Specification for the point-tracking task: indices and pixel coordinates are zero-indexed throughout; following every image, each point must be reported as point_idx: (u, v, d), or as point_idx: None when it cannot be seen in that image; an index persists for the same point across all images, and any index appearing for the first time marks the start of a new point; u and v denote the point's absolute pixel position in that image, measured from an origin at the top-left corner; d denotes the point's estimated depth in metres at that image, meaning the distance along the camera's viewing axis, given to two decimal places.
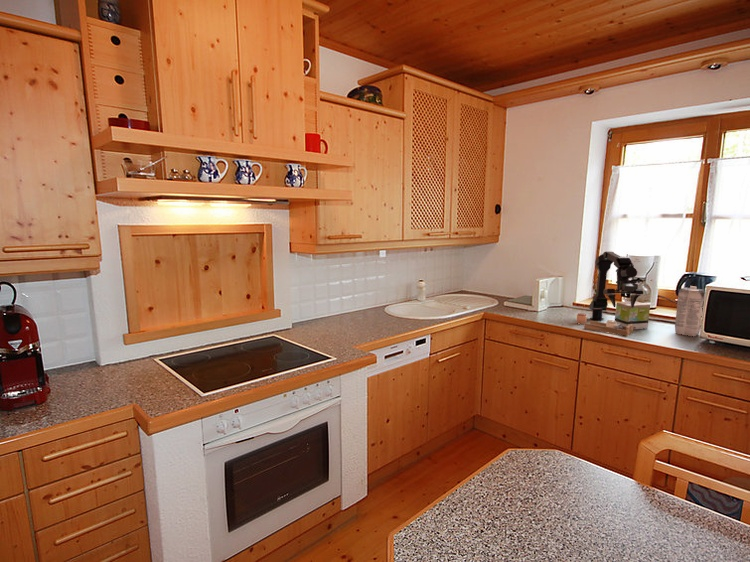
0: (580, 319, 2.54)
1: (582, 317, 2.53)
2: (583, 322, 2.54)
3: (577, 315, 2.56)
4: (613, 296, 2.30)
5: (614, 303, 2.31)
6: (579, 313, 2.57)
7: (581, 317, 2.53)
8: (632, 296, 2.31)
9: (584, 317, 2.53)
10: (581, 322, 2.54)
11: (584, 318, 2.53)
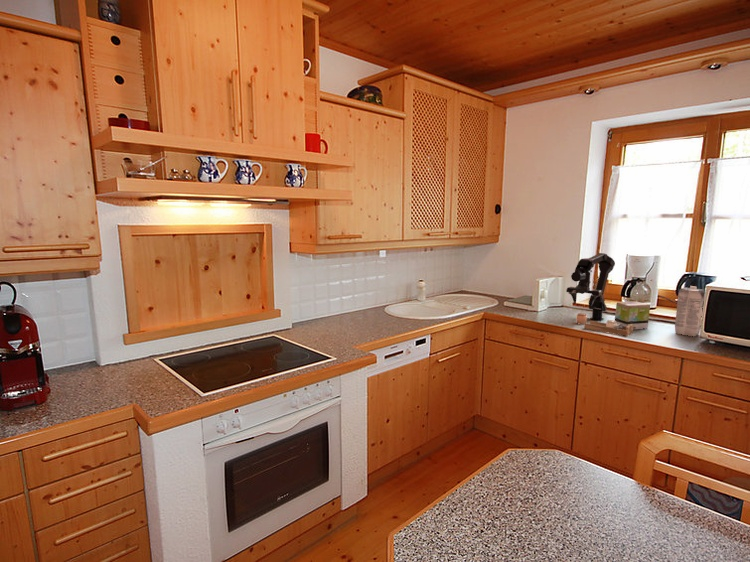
0: (580, 319, 2.54)
1: (582, 317, 2.53)
2: (583, 322, 2.54)
3: (577, 315, 2.55)
4: (572, 294, 2.56)
5: (574, 300, 2.57)
6: (579, 313, 2.57)
7: (581, 317, 2.53)
8: None
9: (584, 317, 2.53)
10: (581, 322, 2.54)
11: (584, 318, 2.53)
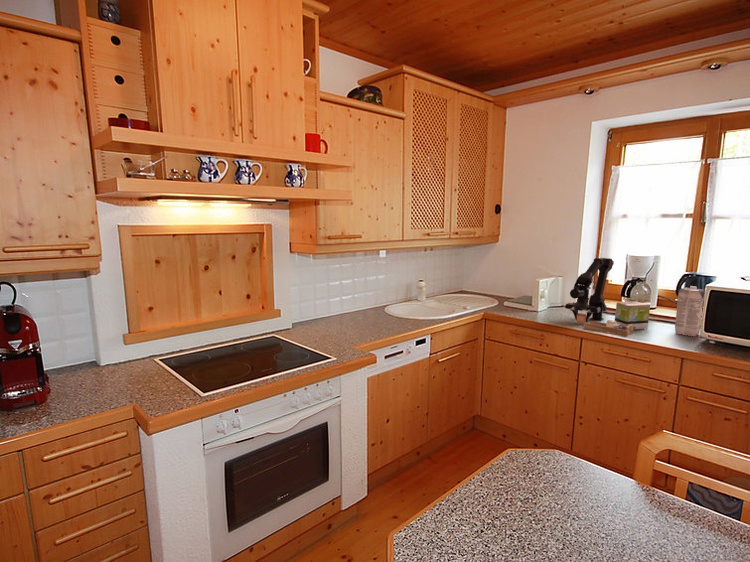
0: (580, 319, 2.54)
1: (582, 317, 2.53)
2: (583, 322, 2.54)
3: (577, 315, 2.55)
4: (573, 311, 2.57)
5: (575, 317, 2.58)
6: (579, 313, 2.57)
7: (581, 317, 2.53)
8: None
9: (584, 317, 2.53)
10: (581, 322, 2.54)
11: (584, 318, 2.53)
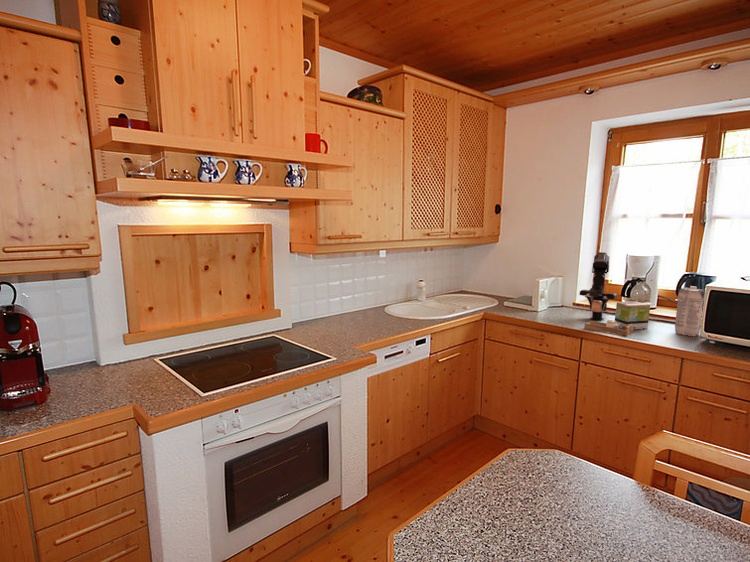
0: (595, 306, 2.41)
1: (598, 304, 2.40)
2: (599, 309, 2.41)
3: (592, 302, 2.43)
4: (588, 298, 2.44)
5: (590, 304, 2.45)
6: (594, 300, 2.44)
7: (596, 304, 2.41)
8: None
9: (600, 304, 2.40)
10: (596, 309, 2.41)
11: (600, 305, 2.40)
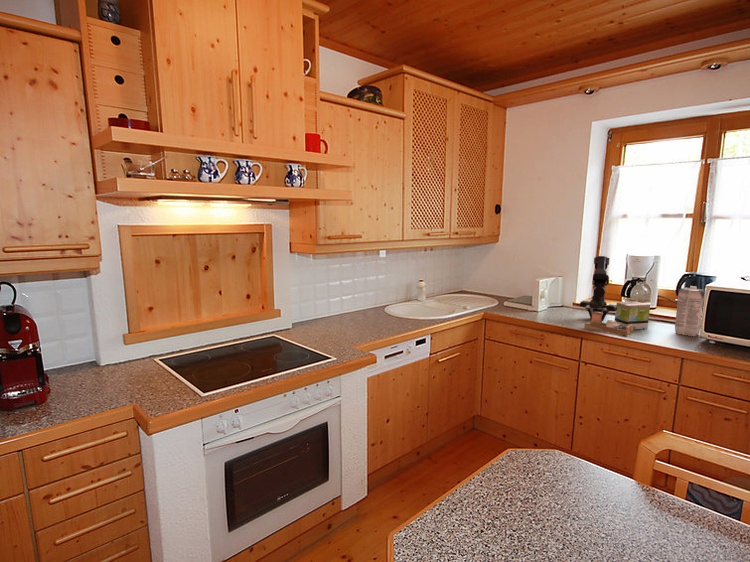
0: (595, 318, 2.42)
1: (598, 315, 2.41)
2: (599, 321, 2.41)
3: (592, 313, 2.43)
4: (588, 309, 2.45)
5: (590, 316, 2.46)
6: None
7: (597, 315, 2.41)
8: None
9: (600, 315, 2.41)
10: (597, 321, 2.42)
11: (600, 317, 2.41)
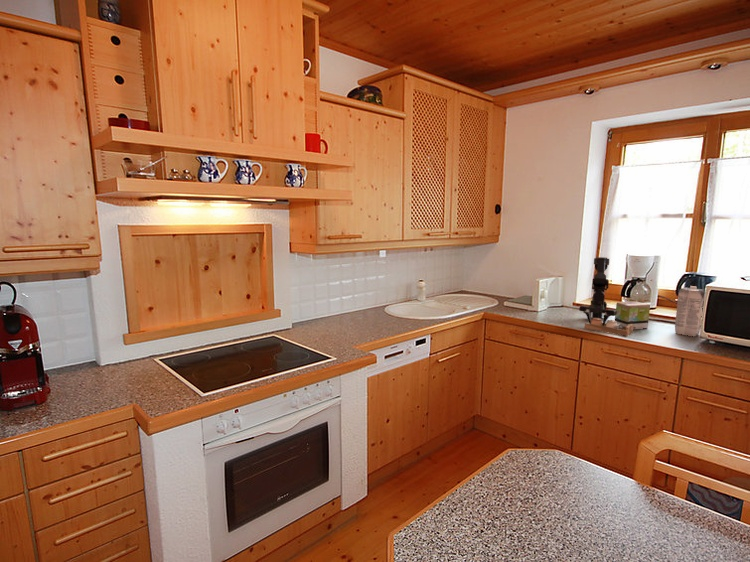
0: (595, 324, 2.42)
1: (597, 322, 2.42)
2: None
3: (592, 320, 2.44)
4: (586, 314, 2.46)
5: (588, 320, 2.46)
6: (594, 318, 2.45)
7: (596, 322, 2.42)
8: None
9: (599, 322, 2.41)
10: None
11: (599, 323, 2.42)
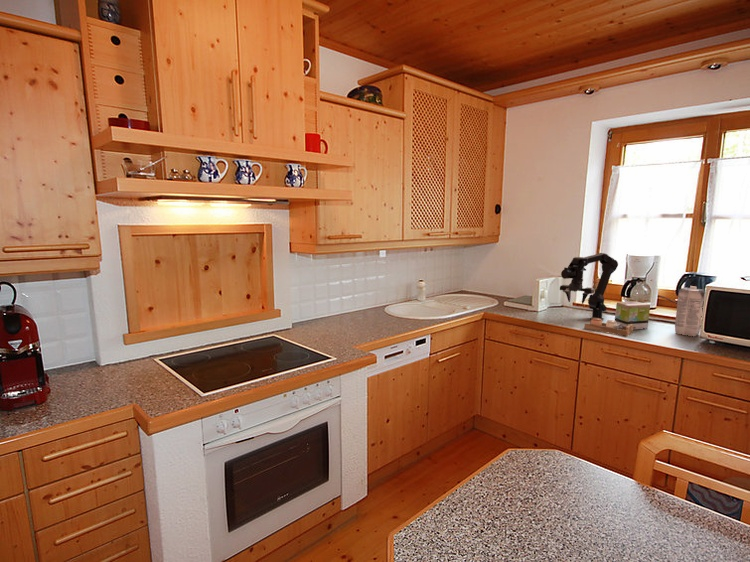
0: (595, 324, 2.42)
1: (597, 322, 2.42)
2: None
3: (592, 320, 2.44)
4: (566, 292, 2.61)
5: (568, 298, 2.61)
6: (594, 318, 2.45)
7: (596, 322, 2.42)
8: None
9: (599, 322, 2.41)
10: None
11: (599, 323, 2.42)
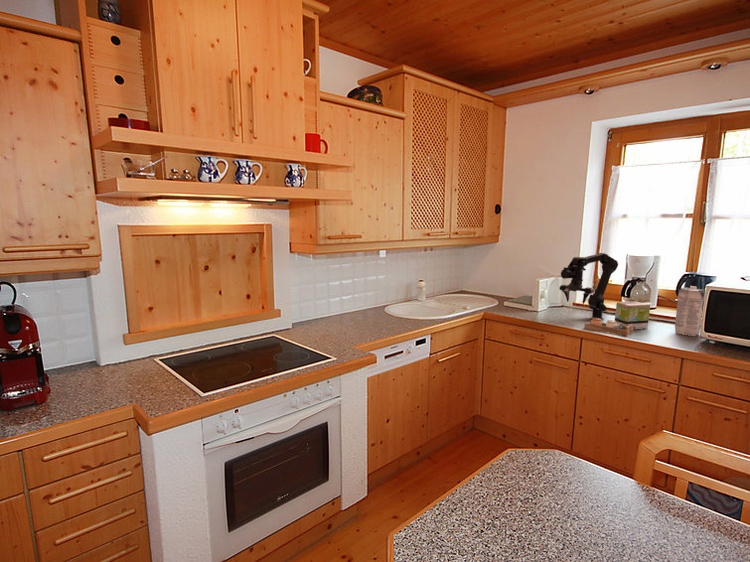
0: (595, 324, 2.42)
1: (597, 322, 2.42)
2: None
3: (592, 320, 2.44)
4: (565, 292, 2.61)
5: (566, 298, 2.62)
6: (594, 318, 2.45)
7: (596, 322, 2.42)
8: None
9: (599, 322, 2.41)
10: None
11: (599, 323, 2.42)
